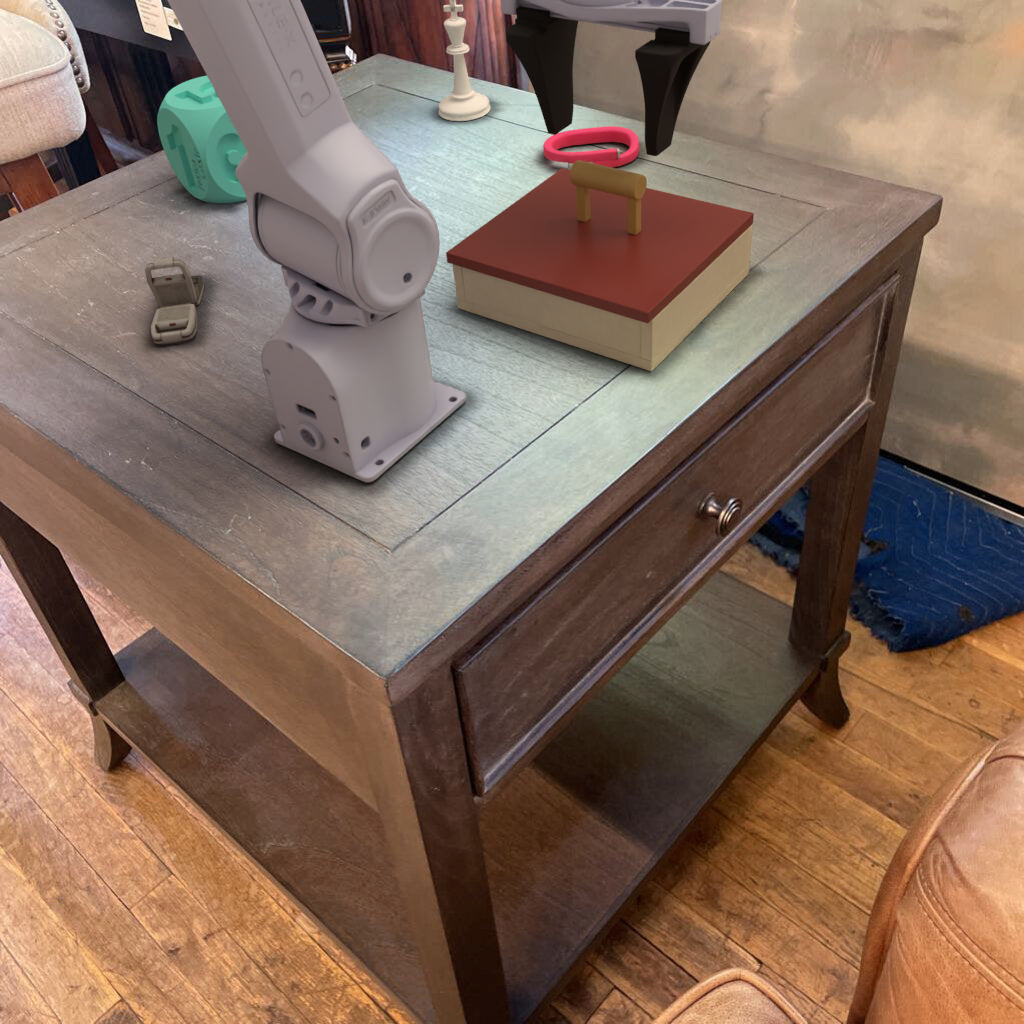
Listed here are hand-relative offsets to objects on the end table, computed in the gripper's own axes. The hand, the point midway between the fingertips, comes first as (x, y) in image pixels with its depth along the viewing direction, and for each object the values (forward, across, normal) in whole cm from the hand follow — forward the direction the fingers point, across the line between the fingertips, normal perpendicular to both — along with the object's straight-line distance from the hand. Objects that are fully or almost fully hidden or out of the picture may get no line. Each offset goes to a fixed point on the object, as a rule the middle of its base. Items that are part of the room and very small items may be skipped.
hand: (608, 138), depth 71 cm
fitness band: (+10, +11, -16) cm, 22 cm away
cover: (+6, -1, +3) cm, 7 cm away
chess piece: (+10, +27, -19) cm, 35 cm away
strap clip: (+10, +25, +19) cm, 33 cm away
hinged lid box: (+10, -1, +2) cm, 10 cm away
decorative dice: (+10, +36, +2) cm, 38 cm away
